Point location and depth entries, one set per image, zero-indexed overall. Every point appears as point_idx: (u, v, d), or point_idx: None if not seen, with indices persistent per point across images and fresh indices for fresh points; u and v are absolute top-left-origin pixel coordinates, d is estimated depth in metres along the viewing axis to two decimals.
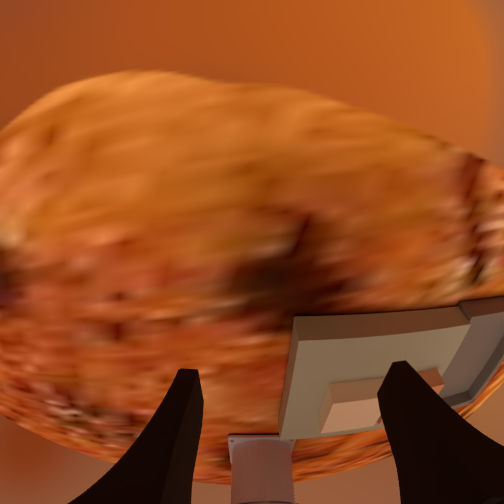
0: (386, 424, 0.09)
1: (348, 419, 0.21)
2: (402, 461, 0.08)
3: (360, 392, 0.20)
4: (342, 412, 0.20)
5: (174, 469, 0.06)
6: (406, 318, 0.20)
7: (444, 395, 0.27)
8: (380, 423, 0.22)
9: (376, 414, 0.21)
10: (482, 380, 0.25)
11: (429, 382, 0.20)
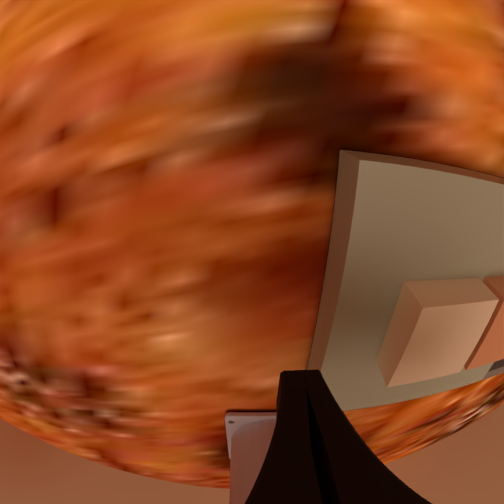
0: None
1: (435, 352, 0.12)
2: None
3: (455, 293, 0.11)
4: (431, 333, 0.11)
5: None
6: (493, 177, 0.11)
7: None
8: (469, 366, 0.12)
9: (472, 343, 0.11)
10: None
11: None
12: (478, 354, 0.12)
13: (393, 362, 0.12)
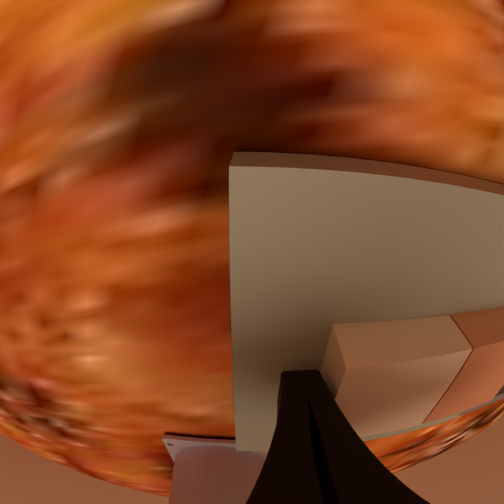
0: None
1: (378, 411, 0.09)
2: None
3: (407, 343, 0.08)
4: (367, 393, 0.08)
5: None
6: (470, 180, 0.09)
7: None
8: (426, 420, 0.10)
9: (433, 397, 0.09)
10: None
11: None
12: (438, 408, 0.10)
13: None
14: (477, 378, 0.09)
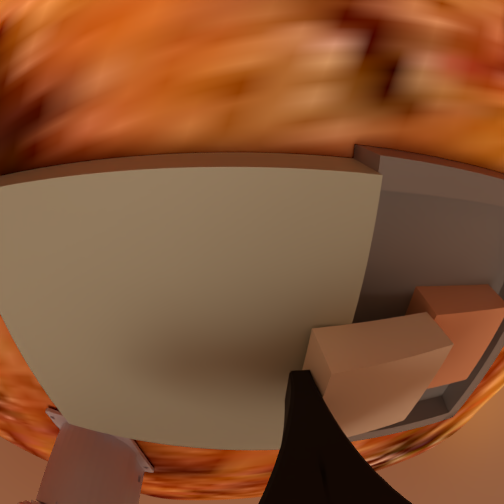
0: None
1: (363, 411, 0.09)
2: None
3: (389, 343, 0.09)
4: (352, 395, 0.09)
5: None
6: (165, 158, 0.09)
7: None
8: None
9: (416, 393, 0.10)
10: (469, 375, 0.13)
11: (485, 301, 0.10)
12: None
13: None
14: None
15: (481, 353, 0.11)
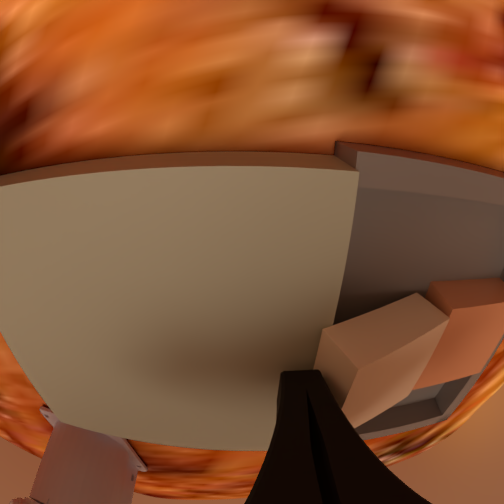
0: None
1: (378, 396, 0.10)
2: None
3: (396, 329, 0.09)
4: (371, 384, 0.09)
5: None
6: (142, 159, 0.09)
7: None
8: (415, 386, 0.12)
9: (420, 369, 0.11)
10: (462, 378, 0.13)
11: (497, 294, 0.10)
12: (424, 373, 0.11)
13: None
14: (460, 344, 0.10)
15: (494, 346, 0.11)
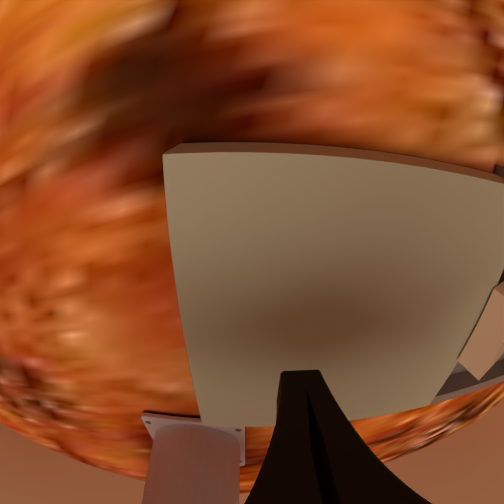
0: None
1: None
2: None
3: None
4: None
5: None
6: (410, 158, 0.10)
7: None
8: None
9: None
10: None
11: None
12: None
13: (486, 358, 0.11)
14: None
15: None
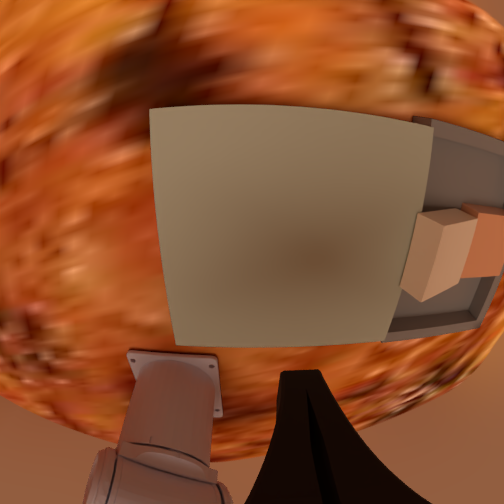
0: None
1: (447, 265, 0.16)
2: None
3: (452, 217, 0.15)
4: (446, 247, 0.15)
5: None
6: None
7: (435, 309, 0.21)
8: (461, 275, 0.17)
9: (465, 255, 0.16)
10: (487, 285, 0.19)
11: (502, 213, 0.16)
12: (467, 262, 0.17)
13: (423, 279, 0.16)
14: (485, 242, 0.16)
15: None
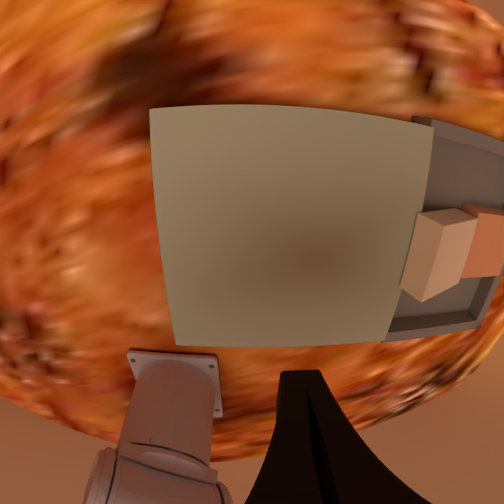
0: None
1: (447, 265, 0.16)
2: None
3: (452, 217, 0.15)
4: (446, 247, 0.15)
5: None
6: None
7: (435, 309, 0.21)
8: (461, 275, 0.17)
9: (465, 255, 0.16)
10: (487, 285, 0.19)
11: (502, 213, 0.16)
12: (467, 262, 0.17)
13: (423, 279, 0.16)
14: (485, 242, 0.16)
15: None
